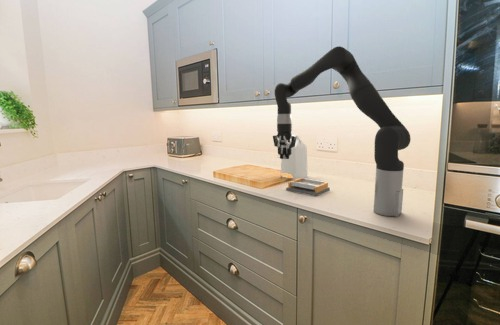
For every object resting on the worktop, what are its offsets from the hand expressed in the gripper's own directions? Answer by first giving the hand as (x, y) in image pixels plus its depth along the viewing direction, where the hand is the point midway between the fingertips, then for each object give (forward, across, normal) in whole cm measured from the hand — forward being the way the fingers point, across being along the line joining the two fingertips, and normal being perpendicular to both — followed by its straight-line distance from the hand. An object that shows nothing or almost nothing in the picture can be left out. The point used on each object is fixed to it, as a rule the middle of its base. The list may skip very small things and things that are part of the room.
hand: (284, 154), depth 146 cm
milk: (+17, +8, -21) cm, 28 cm away
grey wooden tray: (+15, -14, 0) cm, 20 cm away
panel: (+17, -14, 0) cm, 22 cm away
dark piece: (+2, +1, 0) cm, 2 cm away
